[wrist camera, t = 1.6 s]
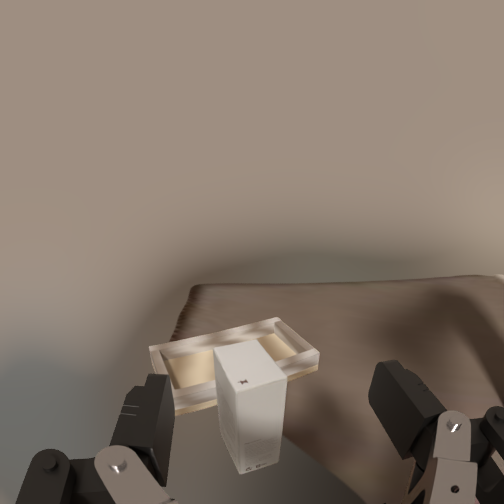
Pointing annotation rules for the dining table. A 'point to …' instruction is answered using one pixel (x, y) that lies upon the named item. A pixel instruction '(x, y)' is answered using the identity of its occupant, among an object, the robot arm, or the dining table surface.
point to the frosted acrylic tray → (202, 361)
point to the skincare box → (250, 404)
